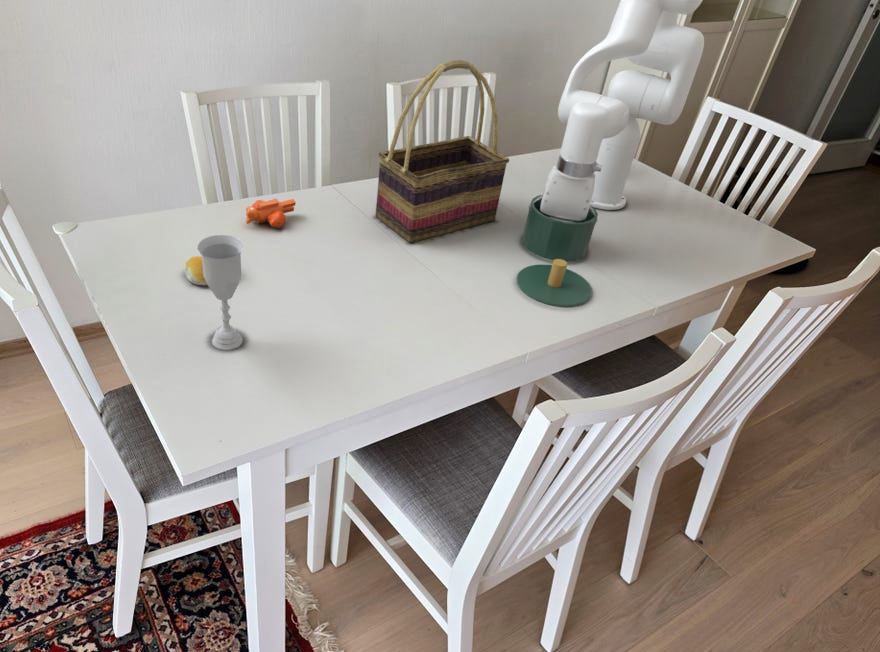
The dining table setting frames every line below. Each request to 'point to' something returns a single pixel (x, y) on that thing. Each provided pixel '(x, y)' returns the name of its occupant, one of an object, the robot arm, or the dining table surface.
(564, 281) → the lid
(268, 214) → the orange plastic lumpy piece
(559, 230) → the tin
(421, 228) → the basket
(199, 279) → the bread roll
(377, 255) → the dining table surface
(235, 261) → the chalice
